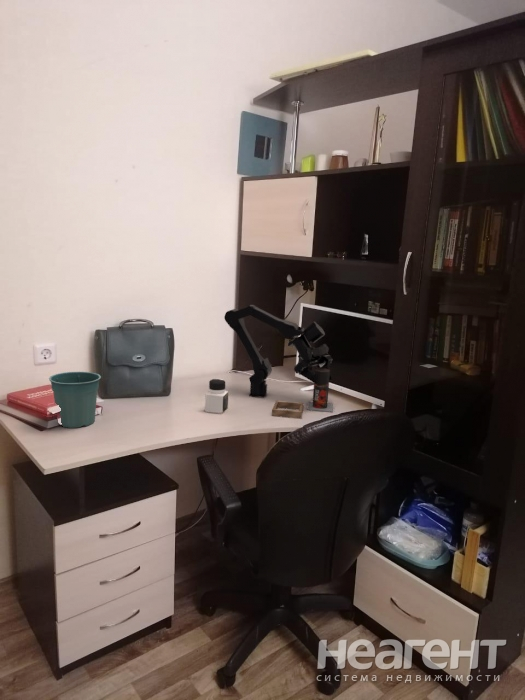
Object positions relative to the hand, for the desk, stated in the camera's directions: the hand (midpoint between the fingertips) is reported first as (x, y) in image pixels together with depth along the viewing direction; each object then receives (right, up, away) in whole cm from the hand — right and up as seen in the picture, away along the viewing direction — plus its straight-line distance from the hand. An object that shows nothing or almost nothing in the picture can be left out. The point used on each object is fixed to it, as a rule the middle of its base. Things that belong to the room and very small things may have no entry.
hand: (324, 381), depth 196 cm
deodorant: (-1, -10, +3) cm, 11 cm away
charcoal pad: (-1, -10, +3) cm, 11 cm away
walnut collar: (-15, -12, -5) cm, 19 cm away
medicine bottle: (-42, -11, -6) cm, 44 cm away
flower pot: (-89, -13, -25) cm, 93 cm away
